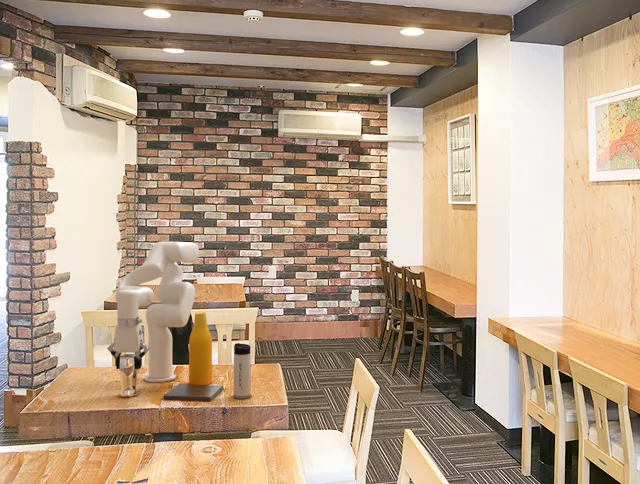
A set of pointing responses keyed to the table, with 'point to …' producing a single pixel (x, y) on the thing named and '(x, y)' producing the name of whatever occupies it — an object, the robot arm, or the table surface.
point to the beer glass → (128, 374)
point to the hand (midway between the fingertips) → (128, 368)
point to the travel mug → (242, 371)
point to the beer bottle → (200, 352)
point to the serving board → (193, 392)
